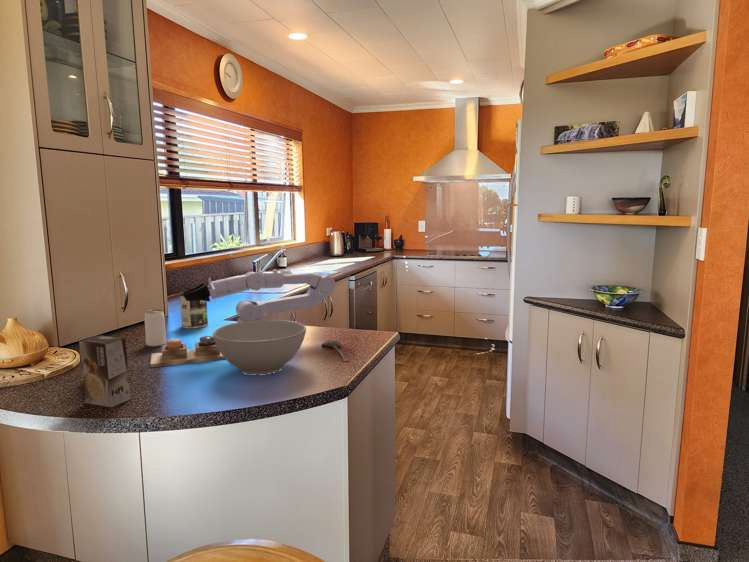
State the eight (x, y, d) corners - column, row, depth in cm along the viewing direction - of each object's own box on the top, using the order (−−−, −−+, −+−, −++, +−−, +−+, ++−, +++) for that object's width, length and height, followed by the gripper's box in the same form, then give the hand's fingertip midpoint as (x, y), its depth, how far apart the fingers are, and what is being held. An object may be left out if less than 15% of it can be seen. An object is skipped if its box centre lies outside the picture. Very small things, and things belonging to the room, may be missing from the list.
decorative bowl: (210, 362, 161) (208, 324, 160) (294, 352, 172) (293, 316, 170) (221, 390, 137) (218, 345, 135) (318, 376, 147) (317, 335, 146)
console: (228, 348, 177) (227, 337, 176) (232, 358, 166) (231, 345, 165) (151, 356, 168) (151, 344, 168) (150, 367, 157) (149, 354, 156)
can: (159, 347, 179) (156, 313, 178) (142, 346, 181) (139, 312, 179) (170, 342, 186) (167, 309, 184) (153, 341, 187) (151, 308, 185)
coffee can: (211, 322, 216) (209, 289, 214) (203, 328, 206) (201, 293, 204) (187, 322, 216) (185, 289, 214) (177, 328, 206) (175, 293, 204)
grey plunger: (213, 344, 171) (213, 335, 171) (215, 347, 167) (214, 338, 167) (199, 345, 169) (199, 336, 169) (200, 349, 165) (200, 340, 165)
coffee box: (132, 399, 131) (127, 337, 129) (111, 408, 125) (105, 343, 123) (105, 394, 134) (99, 334, 132) (83, 403, 129) (77, 340, 126)
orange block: (181, 347, 167) (181, 338, 167) (182, 351, 163) (181, 341, 163) (167, 349, 166) (166, 339, 165) (167, 352, 162) (166, 343, 161)
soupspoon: (338, 346, 183) (320, 348, 181) (337, 336, 183) (319, 339, 181) (354, 361, 162) (334, 364, 160) (354, 350, 162) (333, 353, 160)
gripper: (220, 274, 179) (180, 282, 174) (227, 276, 166) (183, 286, 161) (225, 293, 181) (185, 303, 175) (232, 297, 167) (188, 308, 162)
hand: (184, 296), depth 168 cm, fingers open, 7 cm apart
